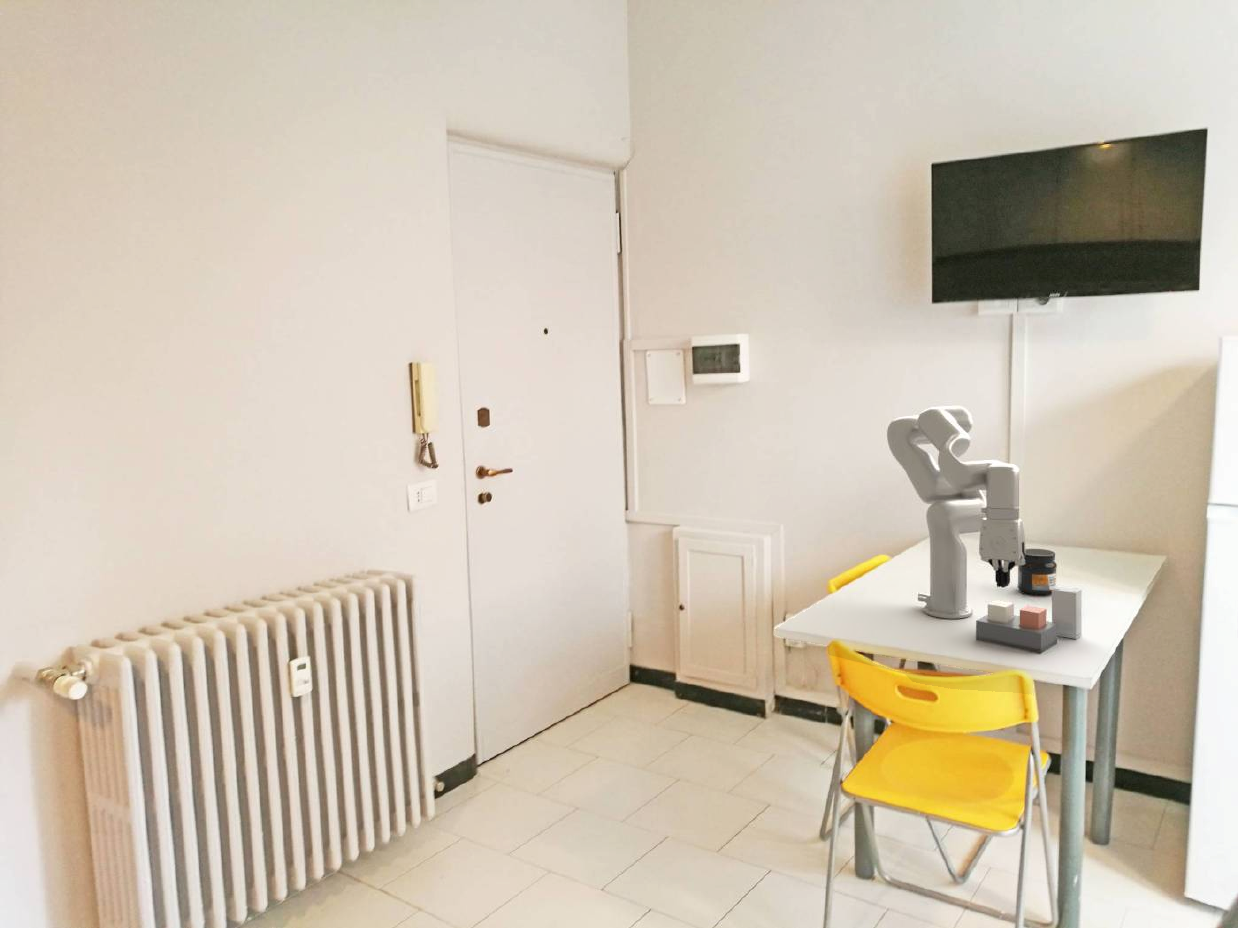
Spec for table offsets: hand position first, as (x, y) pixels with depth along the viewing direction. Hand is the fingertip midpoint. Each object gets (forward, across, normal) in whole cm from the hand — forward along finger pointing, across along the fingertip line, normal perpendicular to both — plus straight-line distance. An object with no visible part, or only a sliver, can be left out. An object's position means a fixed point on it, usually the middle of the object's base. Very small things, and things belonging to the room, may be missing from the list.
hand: (1002, 585), depth 230 cm
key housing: (+14, +3, 0) cm, 14 cm away
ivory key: (+9, -1, 0) cm, 9 cm away
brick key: (+9, +7, 0) cm, 12 cm away
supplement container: (+13, -11, +48) cm, 50 cm away
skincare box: (+14, +11, +12) cm, 22 cm away
